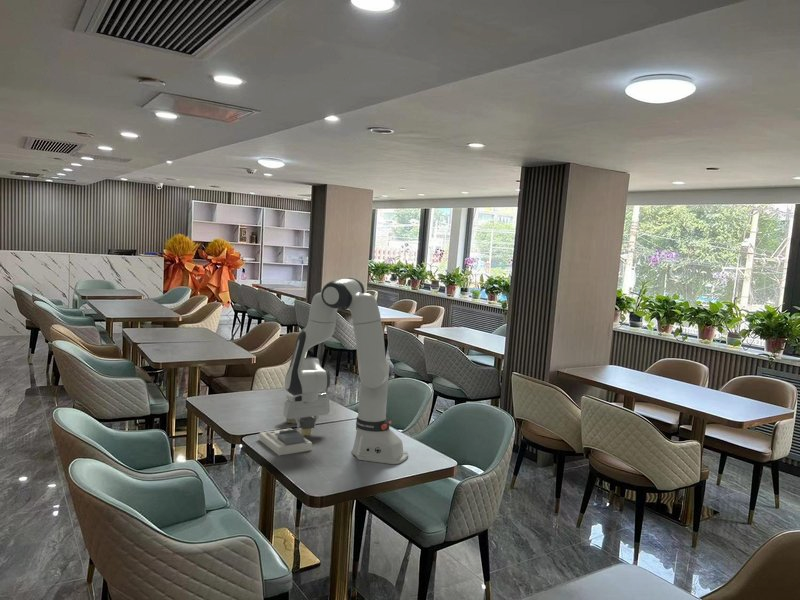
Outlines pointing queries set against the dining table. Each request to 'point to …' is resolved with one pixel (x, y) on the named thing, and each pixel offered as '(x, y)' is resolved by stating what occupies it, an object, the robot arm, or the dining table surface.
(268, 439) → the socket plate
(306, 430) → the plug
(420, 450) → the dining table surface
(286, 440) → the cover
